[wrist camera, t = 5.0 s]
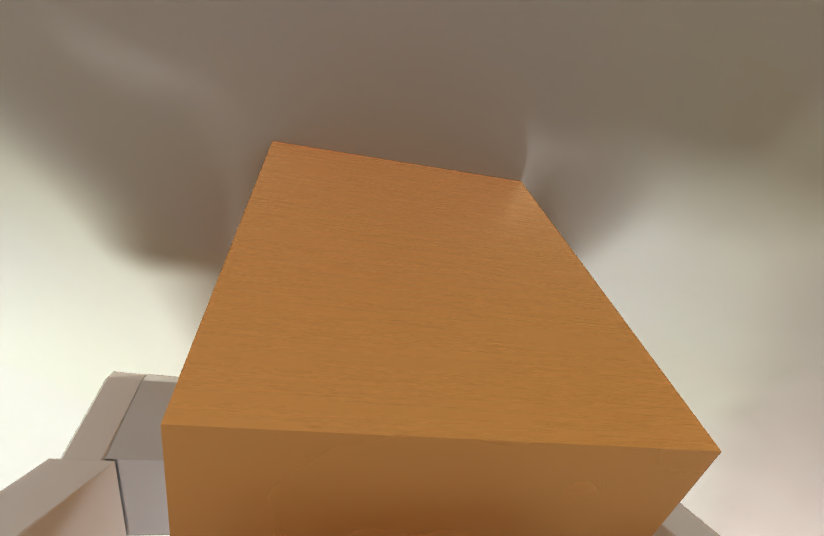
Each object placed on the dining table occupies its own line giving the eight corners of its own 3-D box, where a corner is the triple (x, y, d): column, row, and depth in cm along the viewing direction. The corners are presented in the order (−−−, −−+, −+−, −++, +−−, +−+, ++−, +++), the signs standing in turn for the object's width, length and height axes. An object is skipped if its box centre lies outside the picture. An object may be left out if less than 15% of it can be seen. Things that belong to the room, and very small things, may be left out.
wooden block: (519, 179, 9) (721, 451, 4) (426, 452, 13) (472, 753, 8) (273, 138, 8) (161, 423, 3) (253, 444, 12) (190, 778, 7)
